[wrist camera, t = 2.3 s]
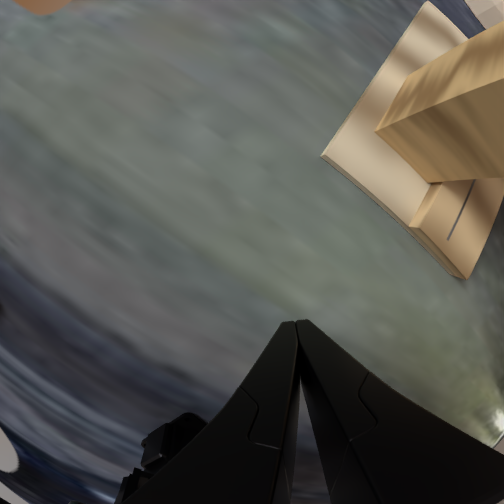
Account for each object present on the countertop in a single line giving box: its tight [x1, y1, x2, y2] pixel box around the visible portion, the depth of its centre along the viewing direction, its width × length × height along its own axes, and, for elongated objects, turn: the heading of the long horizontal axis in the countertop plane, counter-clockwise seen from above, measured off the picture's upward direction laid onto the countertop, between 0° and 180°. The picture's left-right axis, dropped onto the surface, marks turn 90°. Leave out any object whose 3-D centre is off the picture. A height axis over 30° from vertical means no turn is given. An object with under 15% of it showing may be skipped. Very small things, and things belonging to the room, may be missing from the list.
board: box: [320, 1, 504, 280], centre depth 20 cm, size 24×16×2 cm, turn 146°
